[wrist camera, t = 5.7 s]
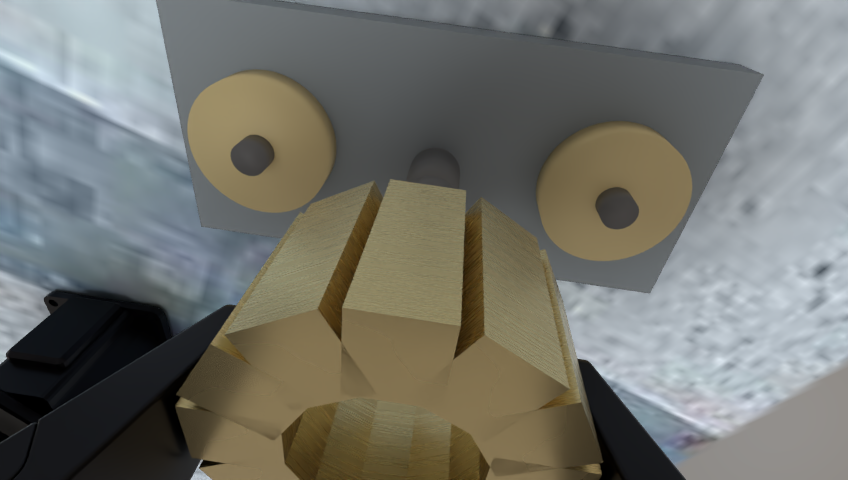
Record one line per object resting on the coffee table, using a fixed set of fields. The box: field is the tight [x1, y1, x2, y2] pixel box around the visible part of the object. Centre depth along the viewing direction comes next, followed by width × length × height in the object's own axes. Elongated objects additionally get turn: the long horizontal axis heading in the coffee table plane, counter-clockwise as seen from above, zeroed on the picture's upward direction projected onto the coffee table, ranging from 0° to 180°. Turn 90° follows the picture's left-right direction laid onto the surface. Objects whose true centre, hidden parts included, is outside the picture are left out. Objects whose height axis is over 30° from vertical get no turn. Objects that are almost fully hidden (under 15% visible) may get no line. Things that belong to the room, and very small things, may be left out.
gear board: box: [156, 0, 764, 293], centre depth 15 cm, size 9×20×6 cm, turn 84°
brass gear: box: [175, 179, 603, 480], centre depth 8 cm, size 6×6×4 cm
